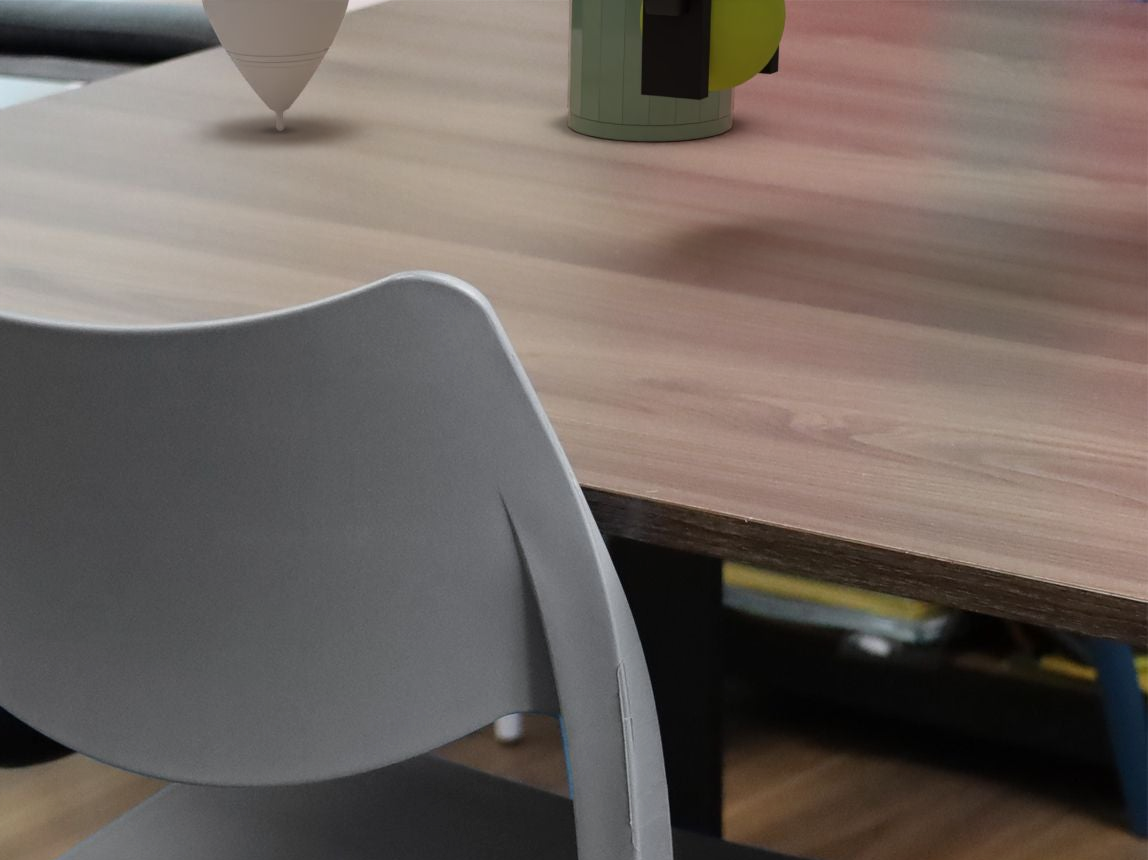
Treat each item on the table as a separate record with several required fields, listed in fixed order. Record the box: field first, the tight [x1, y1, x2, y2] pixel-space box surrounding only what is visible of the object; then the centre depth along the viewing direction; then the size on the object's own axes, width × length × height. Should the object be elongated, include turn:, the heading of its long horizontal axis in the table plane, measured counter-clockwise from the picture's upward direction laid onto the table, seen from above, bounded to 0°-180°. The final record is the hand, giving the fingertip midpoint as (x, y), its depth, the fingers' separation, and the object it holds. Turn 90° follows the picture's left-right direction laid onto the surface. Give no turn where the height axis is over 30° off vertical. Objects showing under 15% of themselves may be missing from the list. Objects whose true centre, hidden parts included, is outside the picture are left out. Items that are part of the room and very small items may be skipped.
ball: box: [640, 0, 786, 92], centre depth 97 cm, size 6×6×6 cm
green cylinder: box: [566, 0, 736, 142], centre depth 120 cm, size 9×9×11 cm
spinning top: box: [201, 0, 350, 132], centre depth 120 cm, size 8×8×12 cm
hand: (711, 81), depth 98 cm, fingers closed on ball, 6 cm apart
